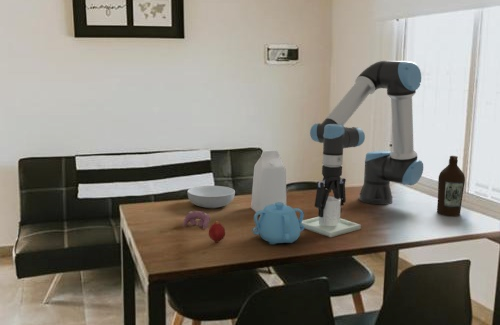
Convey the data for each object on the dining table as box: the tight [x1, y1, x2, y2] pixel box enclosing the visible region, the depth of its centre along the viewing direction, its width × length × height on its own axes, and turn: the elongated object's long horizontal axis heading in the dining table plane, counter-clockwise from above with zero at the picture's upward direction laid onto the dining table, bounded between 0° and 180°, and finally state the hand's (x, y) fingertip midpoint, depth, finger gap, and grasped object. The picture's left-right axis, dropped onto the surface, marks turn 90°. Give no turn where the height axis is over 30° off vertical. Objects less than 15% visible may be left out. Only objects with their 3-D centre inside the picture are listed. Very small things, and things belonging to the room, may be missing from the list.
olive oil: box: [436, 155, 466, 217], centre depth 232 cm, size 11×11×25 cm
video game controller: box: [182, 210, 211, 230], centre depth 208 cm, size 10×5×7 cm, turn 72°
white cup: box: [324, 195, 341, 226], centre depth 209 cm, size 8×8×10 cm
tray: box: [300, 216, 362, 238], centre depth 210 cm, size 17×17×2 cm
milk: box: [250, 149, 287, 216], centre depth 230 cm, size 12×12×26 cm
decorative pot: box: [252, 202, 305, 245], centre depth 194 cm, size 16×16×14 cm
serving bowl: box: [186, 185, 236, 209], centre depth 238 cm, size 21×21×7 cm
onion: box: [208, 220, 226, 244], centre depth 190 cm, size 6×6×8 cm
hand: (329, 222), depth 210 cm, fingers closed on white cup, 7 cm apart
